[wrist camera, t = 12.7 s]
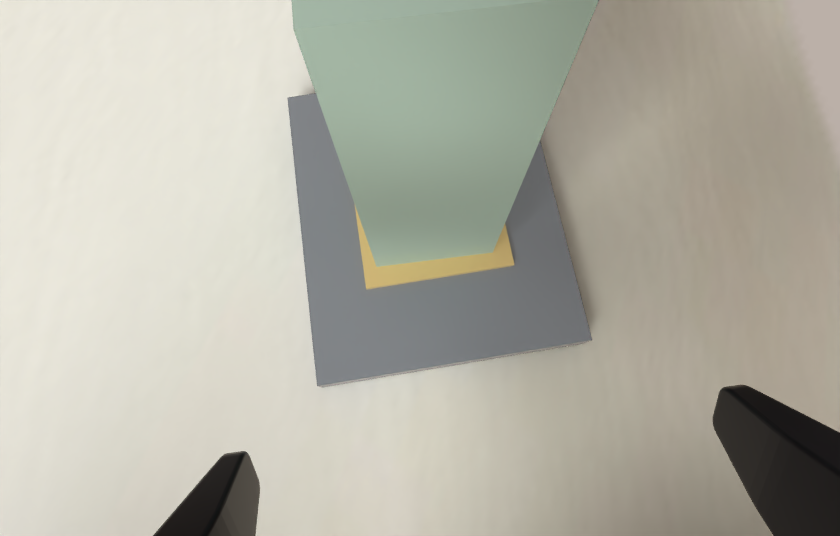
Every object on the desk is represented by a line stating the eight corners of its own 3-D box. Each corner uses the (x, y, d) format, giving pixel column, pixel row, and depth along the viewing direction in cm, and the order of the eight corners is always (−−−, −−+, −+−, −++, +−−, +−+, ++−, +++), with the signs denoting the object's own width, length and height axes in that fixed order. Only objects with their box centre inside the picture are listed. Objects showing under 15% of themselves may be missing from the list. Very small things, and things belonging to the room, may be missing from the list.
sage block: (492, 252, 19) (601, -6, 7) (376, 266, 18) (293, 30, 7) (474, 149, 20) (541, -216, 8) (365, 161, 20) (279, -189, 8)
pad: (583, 343, 19) (593, 339, 18) (323, 387, 18) (315, 385, 17) (516, 78, 22) (520, 59, 21) (293, 111, 22) (286, 94, 21)
